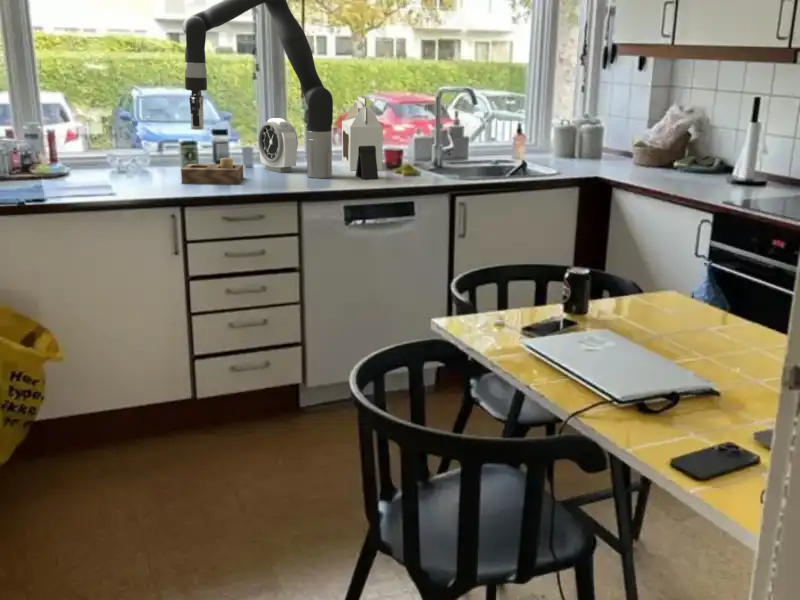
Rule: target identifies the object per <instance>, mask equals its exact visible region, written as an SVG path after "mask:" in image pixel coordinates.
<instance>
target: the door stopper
mask: <svg viewBox="0 0 800 600" xmlns="http://www.w3.org/2000/svg"><path fill="white" fill-rule="evenodd" d="M378 171H379V170H377V161H376V147H375V146H359V148H358V161H357V168H356V171H355V177H356V178H359V179H361V180H365V181H366V180H379V172H378Z"/></svg>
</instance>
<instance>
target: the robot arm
mask: <svg viewBox="0 0 800 600" xmlns="http://www.w3.org/2000/svg"><path fill="white" fill-rule="evenodd" d="M262 4H264V5H265V7H266V9H267V11H268V13H269V14H270V16H271V20H272V21H273V24H274V27H275V30H276V33H277V35H278V38H279V40H280V43H281V46H282V48H283V50H284V53H285V54H286V57H287V60H288V62H289V63H290V65H291V67H292V69H293V71H294V73H295V74H296V77H297V78H298V81H299V83H300V86H301V90H302V93H303V96H304V100H305V103H306V105H307V122H306V152H307V153H306V155H307V156H306V157H307V158H306V159H307V160H306V163H307V165H306V166H307V169H306V171H307V174H306V175H307V177H308V178H314V179H315V178H316V179H325V178H332V177H333V150H332V149H333V145H332V144H333V143H332V141H333V139H332V131H333V129H332V128H333V127H332V125H333V121H334V119H333V115H334V100H333V99H334V98H333V95H332V93H331V91H330V90H329V89H327V88H325V87H324V84H323V82H322V80H321V78H320V76H319V74H318V72H317V69H316V65H315V60H314V55H313V51H312V49H311V48H312V47H311V46H310V43H309V41H308V38H307V36H306V34H305V31H304V30H303V28H302V26H301V24H300V23H299V22H298V20H297V19H296V17H295V16H294V14H293V12H292V11H291V9H290V7H289V4H288V2H287V0H221V1H219V2H217V3H214V4H213V5H211V6H209V7H208V8H206V9H205V10H202V11H199V12H197V13H195V14H193V15H190V16H188V17H187V18H185V19H184V20H183V22H182V31H183V32H184V35H185V43H186V44H185V47H184V88H185V90H186V91H191V94H190V96H189V99H188V100H189V106H190V108H189V109H190V115H191V114H192V115H193V126H199V125H200V124H199V116H198V115H199V114H200V113H199V110H200V109H201V106H203V107H204V98H205V97H204V95H203V94H202V91H206V90H208V76H207V75H208V73H207V72H208V71H207V65H206V64H207V63H206V50H205V49H206V48H205V47H206V41H207V39H206V38H207V32H209V31H211V30H212V29H214V28H217V27H220V26H223V25H225V24H227V23H229V22H230V21H232V20H234V19H236V18H238V17H239V16H241V15H243V14H244V13H246V12H248V11H250V10H253V8H256V7H257V6H258V7H259V6H260V5H262ZM194 109H196V110H194Z"/></svg>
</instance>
